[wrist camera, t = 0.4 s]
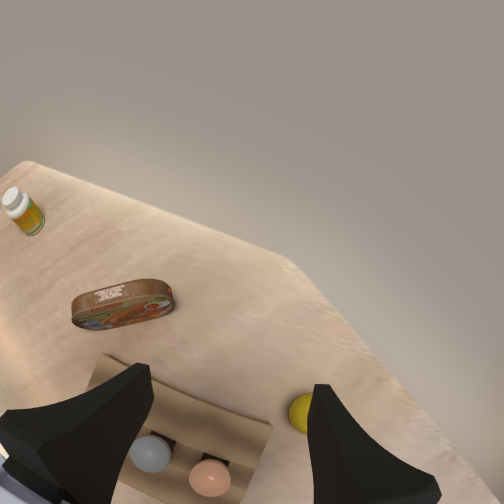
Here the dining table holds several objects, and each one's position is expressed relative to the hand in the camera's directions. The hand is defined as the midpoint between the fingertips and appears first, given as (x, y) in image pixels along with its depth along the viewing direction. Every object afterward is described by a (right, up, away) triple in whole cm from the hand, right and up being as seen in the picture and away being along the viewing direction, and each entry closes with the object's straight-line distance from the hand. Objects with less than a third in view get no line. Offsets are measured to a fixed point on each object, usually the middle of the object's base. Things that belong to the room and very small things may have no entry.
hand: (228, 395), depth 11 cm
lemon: (+8, -16, +24) cm, 30 cm away
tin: (-17, -3, +28) cm, 33 cm away
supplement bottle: (-41, +11, +33) cm, 54 cm away
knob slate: (-10, -18, +17) cm, 27 cm away
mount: (-11, -19, +21) cm, 30 cm away
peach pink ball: (-4, -20, +17) cm, 26 cm away
